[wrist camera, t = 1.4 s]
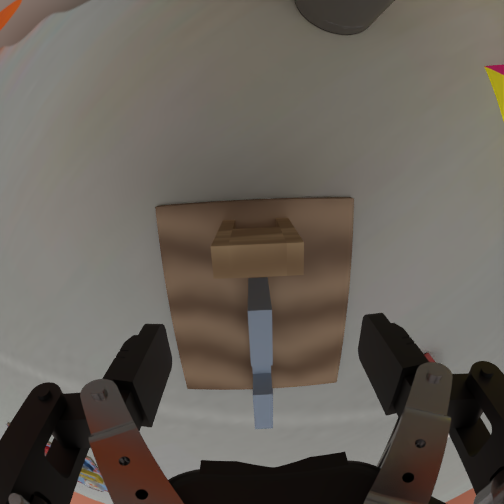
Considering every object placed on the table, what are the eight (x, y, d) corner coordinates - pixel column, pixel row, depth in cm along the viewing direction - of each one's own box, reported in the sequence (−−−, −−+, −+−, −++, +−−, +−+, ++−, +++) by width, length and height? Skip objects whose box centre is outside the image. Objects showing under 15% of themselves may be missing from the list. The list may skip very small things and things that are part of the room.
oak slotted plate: (222, 220, 28) (210, 246, 20) (288, 217, 28) (304, 242, 20) (224, 244, 29) (213, 278, 21) (288, 241, 29) (303, 274, 20)
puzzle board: (41, 463, 53) (38, 468, 50) (8, 420, 46) (4, 425, 43) (120, 493, 53) (118, 499, 50) (91, 455, 46) (88, 463, 44)
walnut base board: (158, 205, 29) (155, 207, 28) (350, 197, 29) (353, 198, 28) (188, 383, 36) (187, 388, 35) (334, 377, 36) (336, 382, 35)
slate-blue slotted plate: (248, 278, 30) (247, 310, 24) (267, 277, 30) (272, 309, 24) (254, 388, 35) (255, 428, 28) (269, 388, 35) (272, 428, 28)
